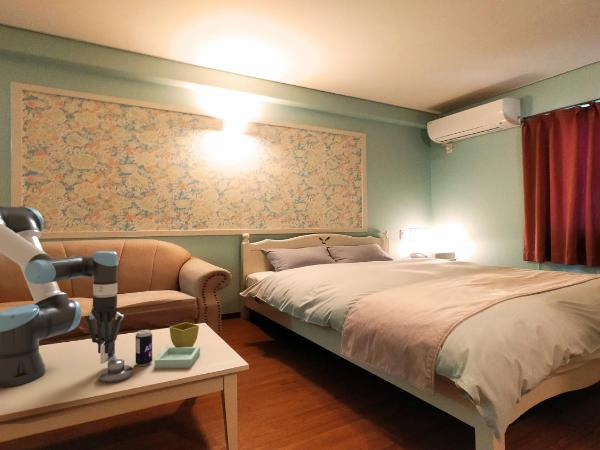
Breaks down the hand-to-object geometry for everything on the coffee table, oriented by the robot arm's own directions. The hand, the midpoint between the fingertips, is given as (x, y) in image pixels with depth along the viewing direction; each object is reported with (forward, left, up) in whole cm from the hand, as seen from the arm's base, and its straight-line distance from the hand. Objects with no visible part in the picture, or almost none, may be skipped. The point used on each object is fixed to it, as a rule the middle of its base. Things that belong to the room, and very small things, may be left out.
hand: (104, 362), depth 123 cm
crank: (+4, -1, -1) cm, 4 cm away
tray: (+23, +8, -3) cm, 25 cm away
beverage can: (+11, +6, -3) cm, 13 cm away
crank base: (+6, -5, -3) cm, 9 cm away
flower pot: (+21, +23, -3) cm, 32 cm away
